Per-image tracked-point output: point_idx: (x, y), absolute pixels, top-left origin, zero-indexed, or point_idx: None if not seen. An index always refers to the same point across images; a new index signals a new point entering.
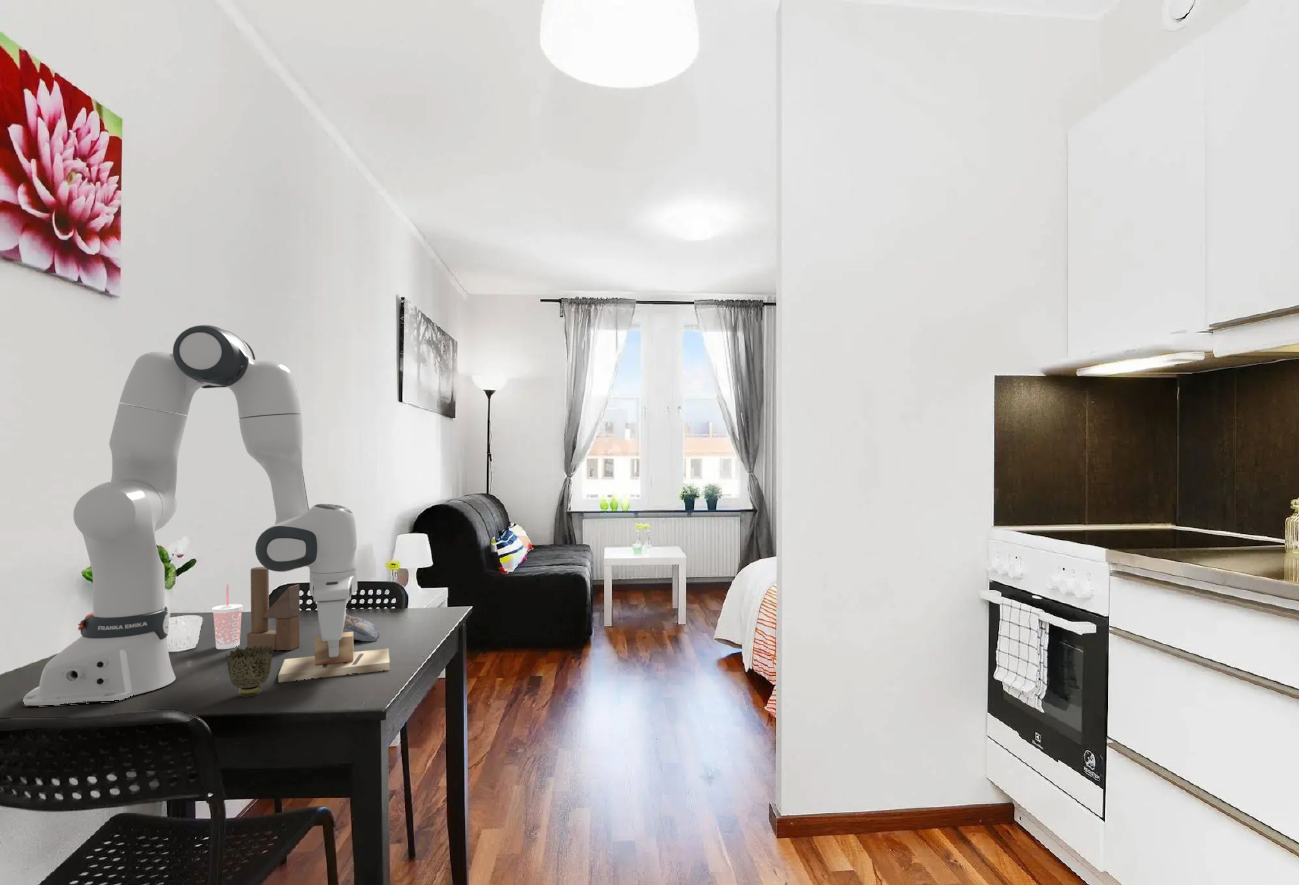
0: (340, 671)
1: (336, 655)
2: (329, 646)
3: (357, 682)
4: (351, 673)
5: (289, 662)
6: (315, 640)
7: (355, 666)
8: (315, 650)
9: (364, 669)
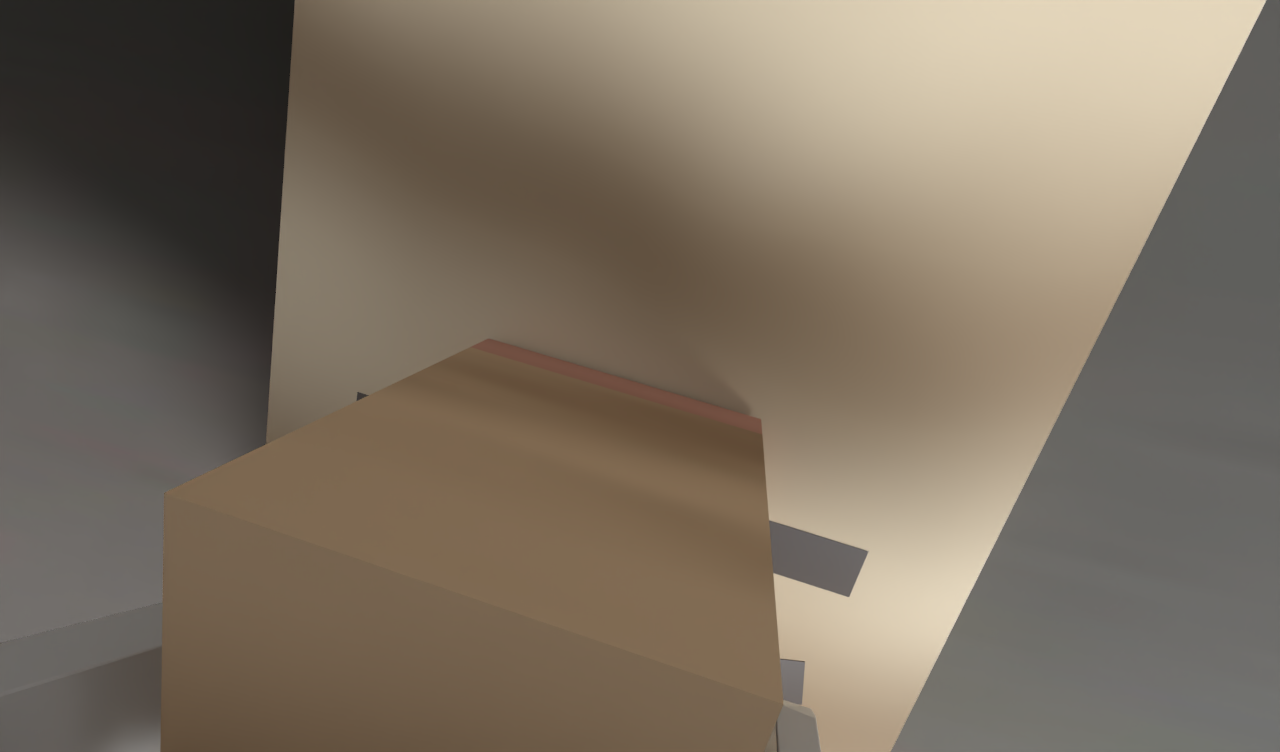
0: None
1: None
2: (106, 631)
3: (72, 545)
4: None
5: (946, 30)
6: (186, 505)
7: None
8: (358, 408)
9: None
